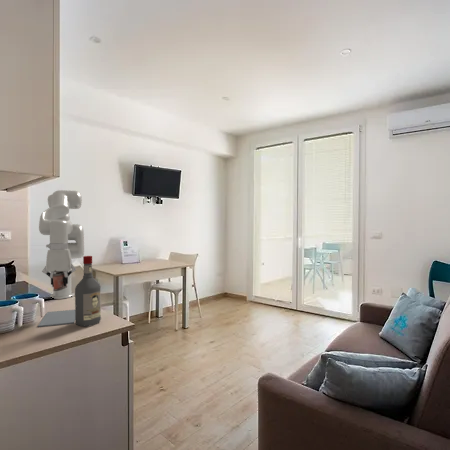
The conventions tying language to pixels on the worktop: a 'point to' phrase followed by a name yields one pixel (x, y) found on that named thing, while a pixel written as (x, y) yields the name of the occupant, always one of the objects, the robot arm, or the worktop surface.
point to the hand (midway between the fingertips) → (59, 285)
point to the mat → (58, 318)
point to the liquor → (87, 297)
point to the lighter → (58, 281)
